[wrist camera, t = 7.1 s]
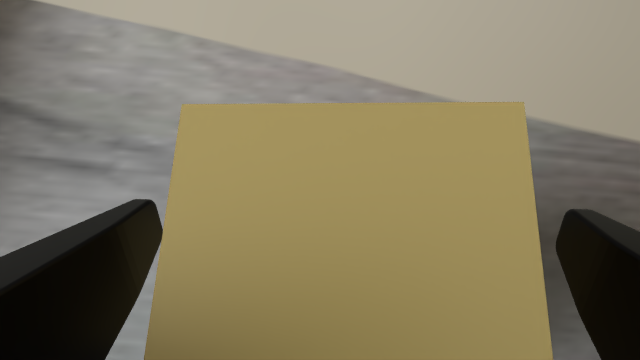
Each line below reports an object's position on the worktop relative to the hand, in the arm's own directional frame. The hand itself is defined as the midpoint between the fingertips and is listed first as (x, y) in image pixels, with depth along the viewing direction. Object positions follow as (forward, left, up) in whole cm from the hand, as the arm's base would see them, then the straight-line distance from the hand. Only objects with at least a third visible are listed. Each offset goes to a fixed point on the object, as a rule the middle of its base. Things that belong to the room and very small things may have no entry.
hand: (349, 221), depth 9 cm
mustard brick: (-1, +1, -8) cm, 8 cm away
